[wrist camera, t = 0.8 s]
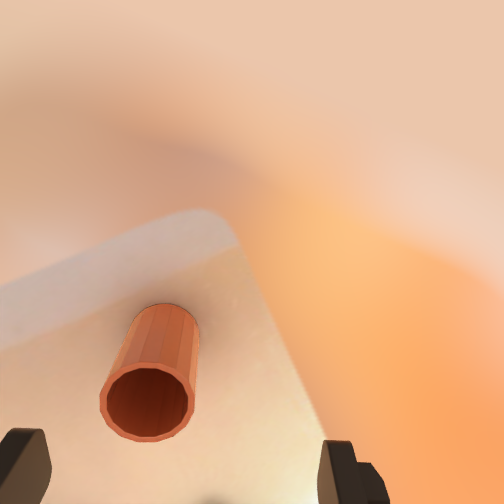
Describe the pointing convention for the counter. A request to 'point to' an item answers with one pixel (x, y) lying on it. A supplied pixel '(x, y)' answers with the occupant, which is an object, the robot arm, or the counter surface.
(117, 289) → the counter surface
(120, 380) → the terracotta cup
